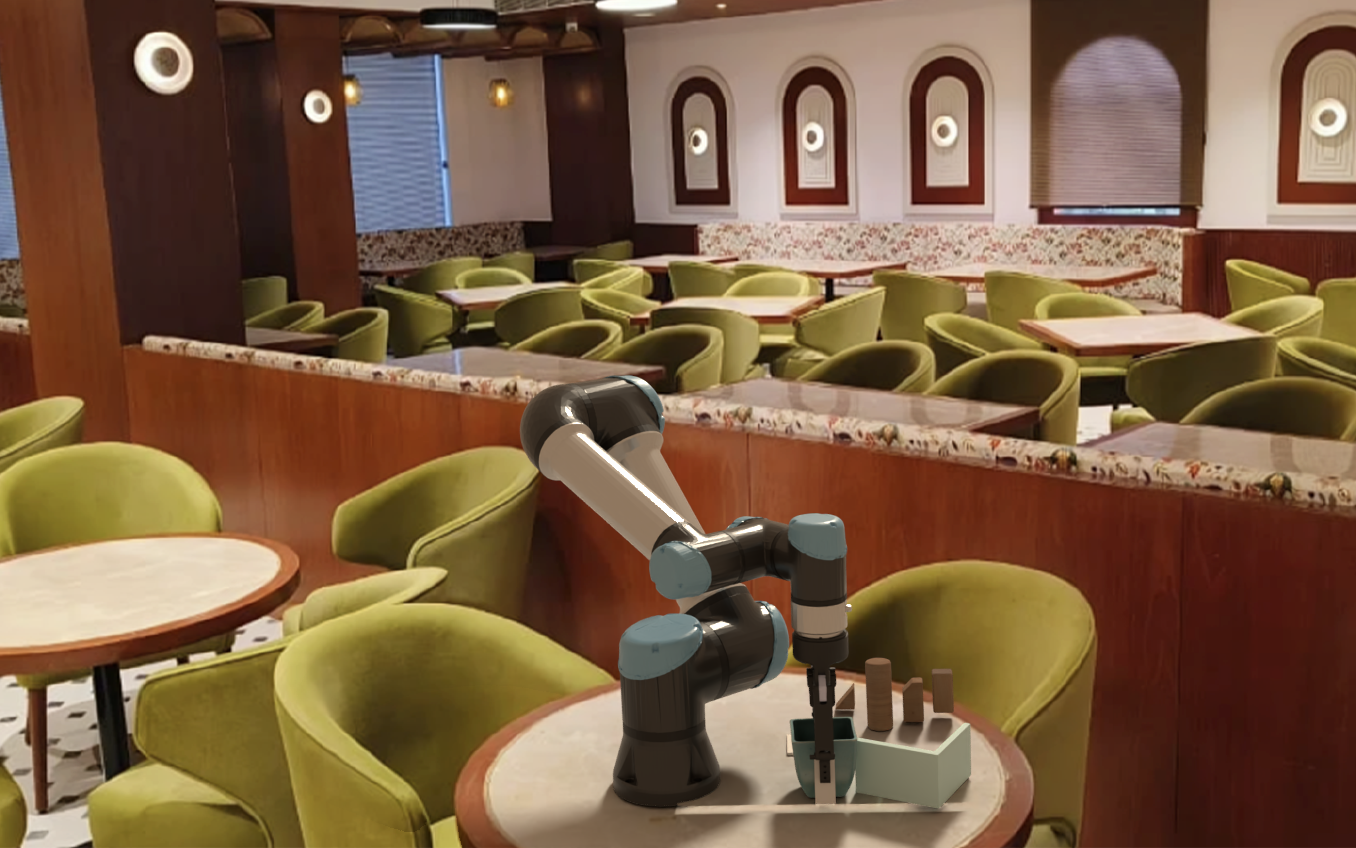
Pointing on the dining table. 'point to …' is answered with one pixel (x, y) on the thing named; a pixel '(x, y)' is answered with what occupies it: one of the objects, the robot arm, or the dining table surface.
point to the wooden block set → (912, 695)
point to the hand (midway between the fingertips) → (824, 788)
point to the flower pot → (842, 748)
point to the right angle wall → (914, 769)
